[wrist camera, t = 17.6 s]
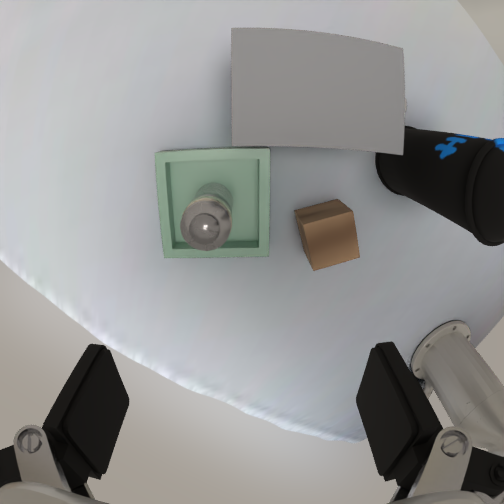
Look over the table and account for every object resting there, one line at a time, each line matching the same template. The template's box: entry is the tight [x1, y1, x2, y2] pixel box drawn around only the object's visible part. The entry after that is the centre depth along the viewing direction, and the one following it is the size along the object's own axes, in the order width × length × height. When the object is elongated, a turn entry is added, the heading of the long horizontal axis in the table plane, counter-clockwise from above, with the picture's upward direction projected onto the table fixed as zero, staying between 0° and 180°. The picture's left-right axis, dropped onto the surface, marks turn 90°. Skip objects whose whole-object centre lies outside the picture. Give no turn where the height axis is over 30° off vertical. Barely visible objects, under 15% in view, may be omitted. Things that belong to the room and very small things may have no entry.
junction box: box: [231, 28, 407, 155], centre depth 22 cm, size 9×14×11 cm, turn 90°
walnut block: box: [294, 199, 360, 271], centre depth 31 cm, size 5×5×5 cm
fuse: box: [180, 183, 233, 251], centre depth 27 cm, size 4×4×9 cm
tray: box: [155, 147, 270, 258], centre depth 30 cm, size 11×11×2 cm
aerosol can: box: [376, 126, 504, 246], centre depth 21 cm, size 8×8×20 cm
